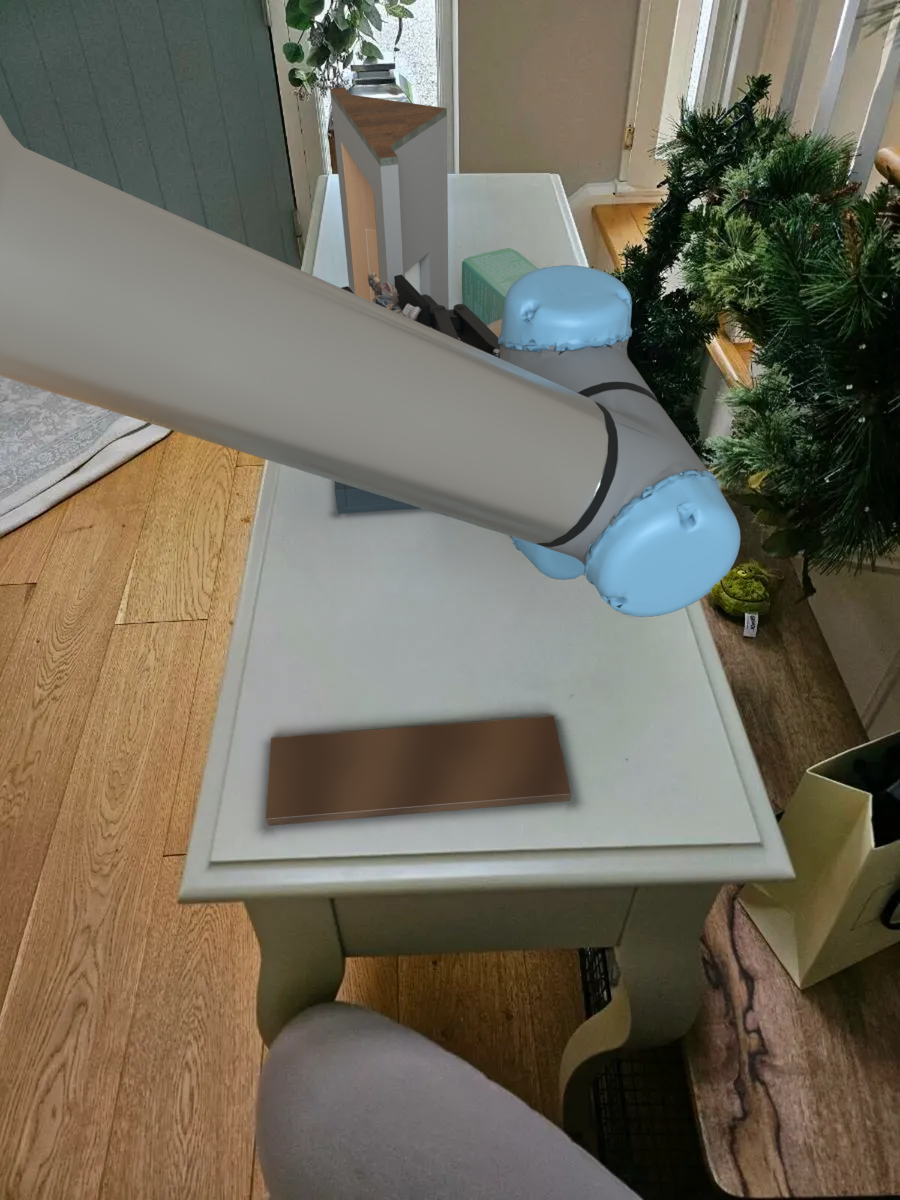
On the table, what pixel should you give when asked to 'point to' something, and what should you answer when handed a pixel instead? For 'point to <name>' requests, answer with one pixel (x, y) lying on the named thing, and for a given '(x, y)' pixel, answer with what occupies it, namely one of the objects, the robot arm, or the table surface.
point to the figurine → (390, 297)
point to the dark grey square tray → (364, 501)
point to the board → (415, 770)
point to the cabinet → (393, 192)
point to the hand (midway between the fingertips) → (372, 295)
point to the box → (491, 281)
